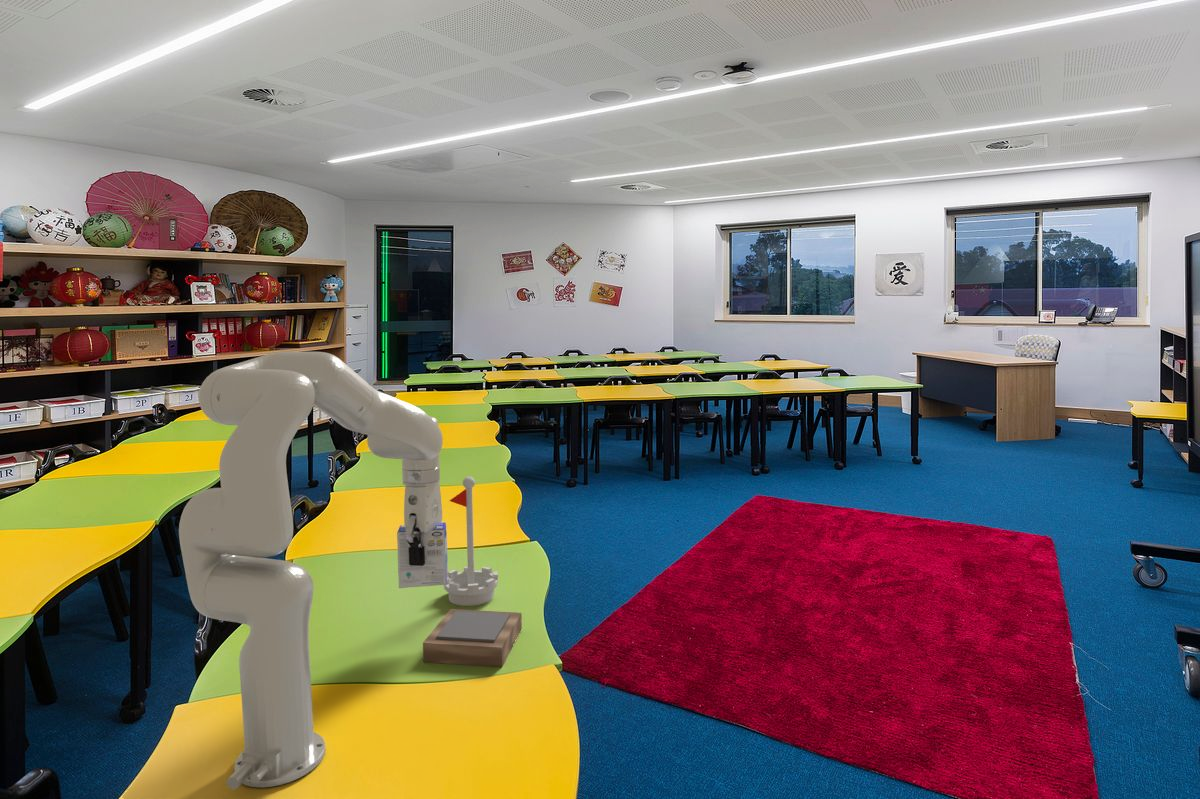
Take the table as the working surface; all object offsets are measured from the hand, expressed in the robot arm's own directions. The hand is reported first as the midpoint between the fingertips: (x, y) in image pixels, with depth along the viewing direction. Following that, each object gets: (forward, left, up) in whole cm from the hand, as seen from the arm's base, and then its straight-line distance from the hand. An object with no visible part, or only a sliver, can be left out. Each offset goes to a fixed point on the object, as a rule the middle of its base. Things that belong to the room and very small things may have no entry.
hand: (423, 558), depth 143 cm
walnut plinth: (-2, -12, -17) cm, 21 cm away
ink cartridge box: (0, 0, -5) cm, 5 cm away
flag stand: (+22, -3, -18) cm, 29 cm away
